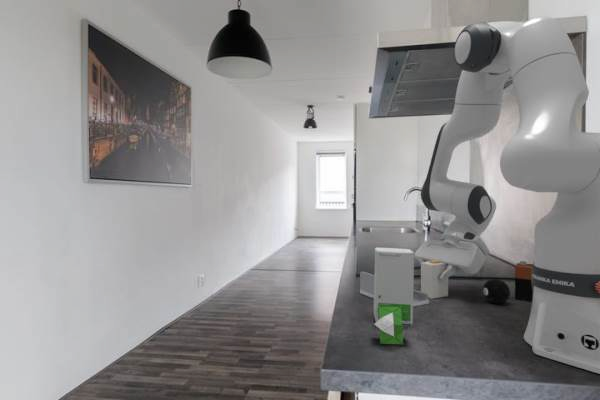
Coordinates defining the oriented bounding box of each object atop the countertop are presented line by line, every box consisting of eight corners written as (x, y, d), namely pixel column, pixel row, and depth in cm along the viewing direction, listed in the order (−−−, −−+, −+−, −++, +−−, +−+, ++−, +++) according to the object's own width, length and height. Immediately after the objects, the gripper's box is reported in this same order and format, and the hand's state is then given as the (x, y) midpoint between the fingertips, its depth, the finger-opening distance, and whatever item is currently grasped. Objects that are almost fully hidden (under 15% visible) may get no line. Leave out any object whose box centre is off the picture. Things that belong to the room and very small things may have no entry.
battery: (545, 303, 94) (545, 264, 94) (514, 299, 98) (514, 261, 98) (546, 299, 97) (546, 262, 97) (516, 295, 101) (516, 259, 101)
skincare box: (374, 322, 80) (374, 251, 79) (373, 313, 86) (373, 246, 86) (414, 324, 78) (415, 251, 78) (410, 314, 85) (410, 247, 85)
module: (448, 296, 101) (448, 261, 101) (431, 298, 98) (432, 262, 98) (436, 292, 104) (436, 258, 104) (420, 295, 102) (421, 260, 102)
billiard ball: (478, 299, 97) (478, 277, 97) (499, 299, 98) (499, 276, 98) (492, 306, 91) (492, 282, 91) (514, 305, 92) (515, 282, 92)
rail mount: (429, 303, 94) (429, 280, 94) (398, 308, 89) (398, 284, 89) (388, 289, 108) (388, 268, 108) (360, 293, 104) (360, 271, 104)
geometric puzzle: (369, 320, 75) (372, 295, 70) (404, 321, 74) (408, 296, 69) (372, 353, 69) (375, 329, 64) (409, 354, 69) (415, 330, 64)
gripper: (425, 230, 113) (400, 264, 109) (484, 236, 95) (457, 278, 91) (435, 243, 115) (411, 277, 111) (495, 252, 97) (469, 293, 93)
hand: (432, 278), depth 101 cm, fingers closed on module, 4 cm apart
